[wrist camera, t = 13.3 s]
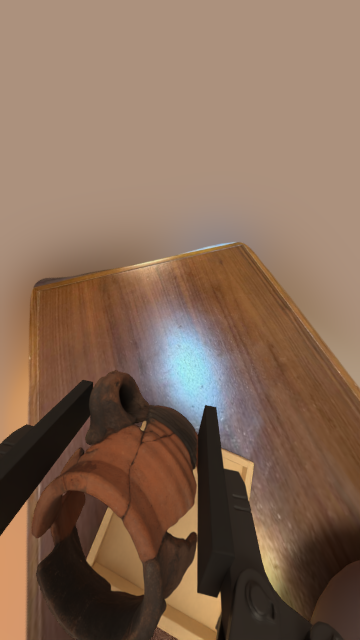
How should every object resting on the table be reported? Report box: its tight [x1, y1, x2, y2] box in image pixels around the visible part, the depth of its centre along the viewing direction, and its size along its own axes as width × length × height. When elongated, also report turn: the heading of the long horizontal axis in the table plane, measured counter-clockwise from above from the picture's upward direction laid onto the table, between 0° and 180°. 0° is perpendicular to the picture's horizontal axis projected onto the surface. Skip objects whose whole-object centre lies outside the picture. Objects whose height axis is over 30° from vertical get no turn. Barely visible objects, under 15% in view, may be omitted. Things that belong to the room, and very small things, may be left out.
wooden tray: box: [86, 421, 254, 640], centre depth 21 cm, size 16×16×2 cm
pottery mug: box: [32, 370, 198, 640], centre depth 12 cm, size 12×10×8 cm
